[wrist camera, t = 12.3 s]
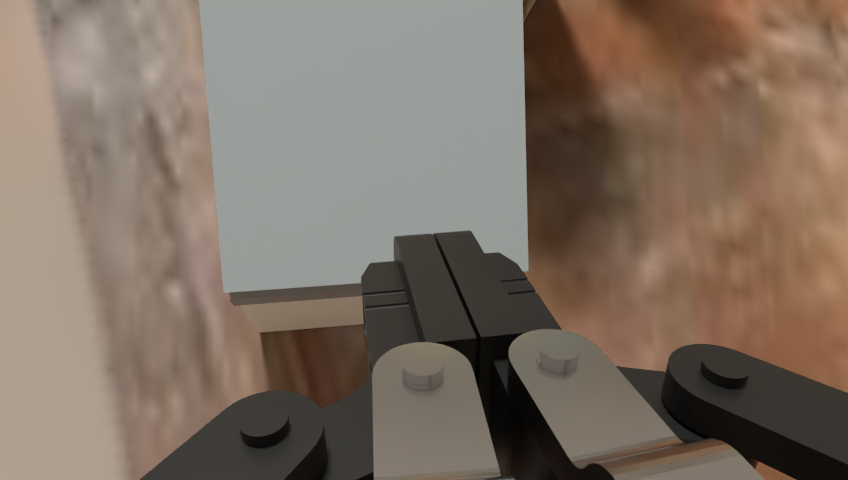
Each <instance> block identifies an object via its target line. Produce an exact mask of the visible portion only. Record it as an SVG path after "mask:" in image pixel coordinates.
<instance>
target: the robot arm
mask: <svg viewBox="0 0 848 480" xmlns="http://www.w3.org/2000/svg"><path fill="white" fill-rule="evenodd" d="M361 287H362V304H363V320H364V336H365V348H366V356H367V363H368V372H369V377H368V379H367V380H366V382H365V383H364V384H363V385H362V386H361V387H360V388H359V389H358V390H357V391H355V392H354V393H353V394H351V395H350V396H348V397H346V398H344V399H342V400H340V401H338V402H335V403H333V404H330V405H327V406H325V407H322V408H319V407H318V406H317V404H316V403H315V402H314V401H312V400H311V399H310V398H308V397H306V396H304V395H302V394H299V393H296V392H290V391H267V392H262V393H257V394H254V395H251V396H248V397H246V398H243V399H241V400H239V401H237V402H235V403H234V404H232V405H230V406H229V407H228V408H226V409H225V410H224V411H222V412H221V413H220V414H219V415H217V416H216V417H215V418H214V419H213V420H211V421H210V422H209V423H208V424H207V425H205V426H204V427H203V428H202V429H201V430H199V431H198V432H197V433H196V434H194V435H193V436H192V437H191V438H190V439H188V440H187V441H186V442H185V443H184V444H182V445H181V446H180V447H179V448H177V449H176V450H175V451H174V452H173V453H171V454H170V455H169V456H168V457H167V458H165V459H164V460H163V461H162V462H161V463H159V464H158V465H157V466H156V467H154V468H153V469H152V470H151V471H150V472H148V473H147V474H146V475H145V476H144V477H142V478H141V479H140V480H765V479H764V478H763V477H762V476H761V475H760V474H759V473H758V472H757V471H756V470H755V469H756V466H757V463H758V461H759V462H761V463H763V464H765V465H768V466H770V467H772V468H774V469H776V470H778V471H780V472H782V473H784V474H786V475H788V476H790V477H792V478H795V479H797V480H848V393H846V392H843V391H841V390H838V389H835V388H833V387H830V386H827V385H825V384H822V383H820V382H817V381H814V380H812V379H809V378H806V377H804V376H801V375H799V374H796V373H793V372H791V371H788V370H785V369H783V368H780V367H778V366H775V365H772V364H770V363H767V362H765V361H762V360H759V359H757V358H754V357H751V356H749V355H746V354H744V353H741V352H738V351H735V350H732V349H729V348H725V347H721V346H716V345H709V344H693V345H687V346H684V347H680V348H679V349H677V350H675V351H674V352H673V353H672V354H671V356H670V357H669V360H668V365H667V369H666V372H662V371H653V370H643V369H634V368H625V367H619V366H615V365H614V364H613V363H612V361H611V360H610V359H609V358H608V357H607V356H606V354H605V353H604V352H603V351H602V350H601V349H600V348H599V347H598V346H597V345H596V344H594V343H593V342H592V341H590V340H588V339H587V338H585V337H583V336H580V335H578V334H575V333H572V332H568V331H564V330H562V329H561V328H560V326H559V325H558V323H557V322H556V320H555V319H554V317H553V316H552V314H551V313H550V311H549V310H548V308H547V307H546V306H545V304H544V303H543V301H542V300H541V298H540V297H539V295H538V294H537V293H535V289H534V288H533V286H532V285H531V283H530V282H529V281H527V277H526V276H525V274H524V273H523V271H522V270H521V268H520V267H519V265H518V264H517V263H515V262H514V261H512V260H511V259H509V258H507V257H506V256H504V255H503V254H501V253H499V252H496V253H484V252H483V250H482V248H481V247H480V245H479V243H478V241H477V240H476V238H475V236H474V235H473V233H472V231H470V230H468V231H455V232H442V233H434V234H433V235H432V234H431V233H430V234H417V235H404V236H394V261H388V262H376V263H370V264H369V265H368V267H367V269H366V270H365V272H364V273H363V275H362V276H361ZM498 465H499V466H498ZM499 468H500V470H499Z"/></svg>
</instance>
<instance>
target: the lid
mask: <svg viewBox="0 0 848 480" xmlns="http://www.w3.org/2000/svg"><path fill="white" fill-rule="evenodd" d="M199 6H200V18H201V30H202V42H203V54H204V66H205V78H206V90H207V102H208V114H209V126H210V138H211V150H212V161H213V173H214V185H215V197H216V209H217V221H218V233H219V245H220V257H221V269H222V281H223V293H228V292H242V291H256V290H270V289H284V288H298V287H311V286H325V285H339V284H353V283H361V276H362V275H363V273H364V272H365V270H366V269H367V267H368V265H369V264H370V263H376V262H388V261H394V236H404V235H417V234H430V233H431V234H432V235H433V234H434V233H442V232H455V231H468V230H470V231H472V233H473V235H474V236H475V238H476V240H477V241H478V243H479V245H480V247H481V248H482V250H483V252H484V253H496V252H499V253H501V254H503V255H504V256H506V257H507V258H509V259H511V260H512V261H514V262H515V263H517V264H518V265H519V267H520V268H521V270H522V271H529V270H528V223H527V176H526V129H525V83H524V36H523V0H199Z"/></svg>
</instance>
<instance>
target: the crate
mask: <svg viewBox="0 0 848 480" xmlns="http://www.w3.org/2000/svg"><path fill="white" fill-rule="evenodd" d="M229 300H230V301H231V303H232V304H233V305H234V306H237V305H239V306H240V307H241V309H242V310H243V311H244V312H245V314H246V315H247V316H248V318H249V319H250V320H251V322H252V323H253V324H254V326H255V327H256V328H257V330H258V331H259V332H260V333H262V332H274V331H286V330H298V329H310V328H322V327H334V326H346V325H358V324H364V320H363V304H362V287H361V283H353V284H339V285H325V286H311V287H298V288H284V289H270V290H256V291H242V292H229Z"/></svg>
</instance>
